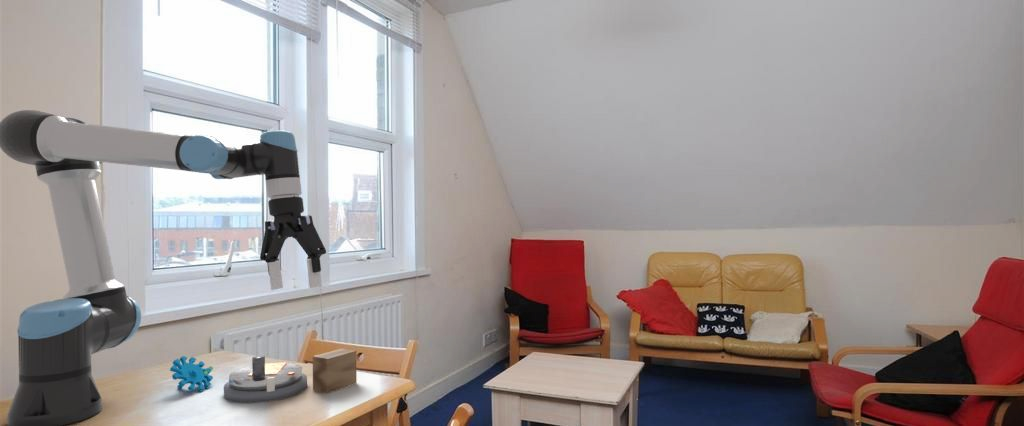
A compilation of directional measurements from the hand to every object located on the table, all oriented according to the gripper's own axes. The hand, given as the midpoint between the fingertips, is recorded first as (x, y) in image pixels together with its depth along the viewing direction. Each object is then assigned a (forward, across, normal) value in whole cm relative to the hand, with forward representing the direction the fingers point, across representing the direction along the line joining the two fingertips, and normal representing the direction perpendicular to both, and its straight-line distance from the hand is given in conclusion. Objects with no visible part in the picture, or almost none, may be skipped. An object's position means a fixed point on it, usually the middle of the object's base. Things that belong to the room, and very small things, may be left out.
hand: (296, 288), depth 132 cm
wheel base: (+23, +10, +4) cm, 25 cm away
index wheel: (+21, +9, +4) cm, 23 cm away
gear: (+22, +26, +12) cm, 36 cm away
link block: (+25, -2, -6) cm, 26 cm away
